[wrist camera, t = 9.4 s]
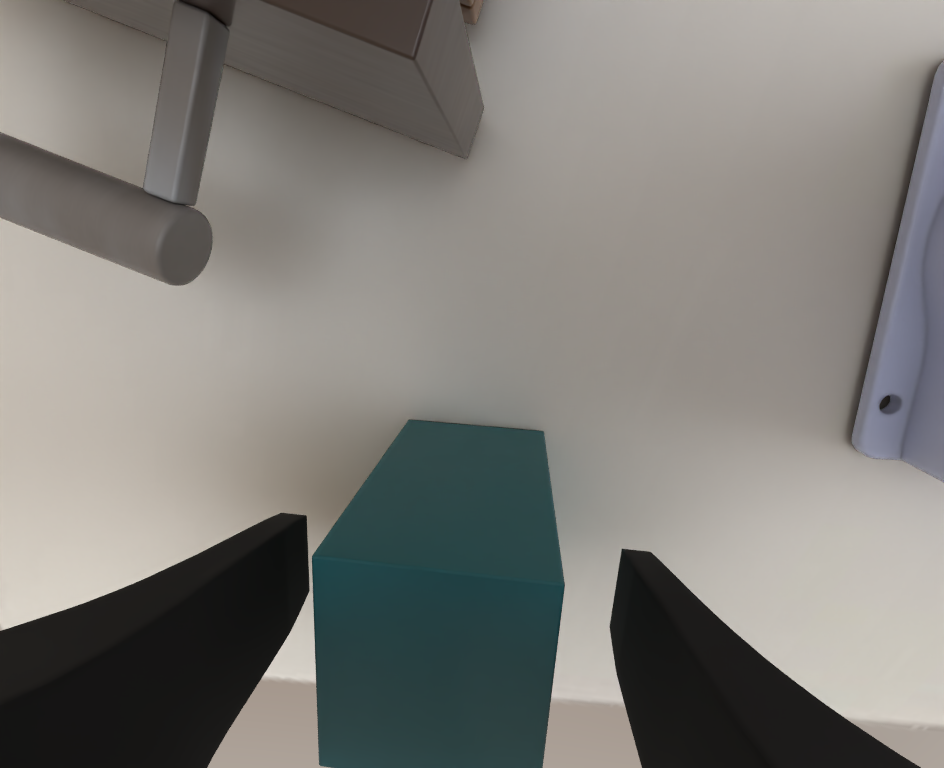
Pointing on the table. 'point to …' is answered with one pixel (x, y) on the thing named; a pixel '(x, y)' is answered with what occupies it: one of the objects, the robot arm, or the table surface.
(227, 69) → the table surface
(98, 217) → the drawer
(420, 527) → the teal rectangular block
